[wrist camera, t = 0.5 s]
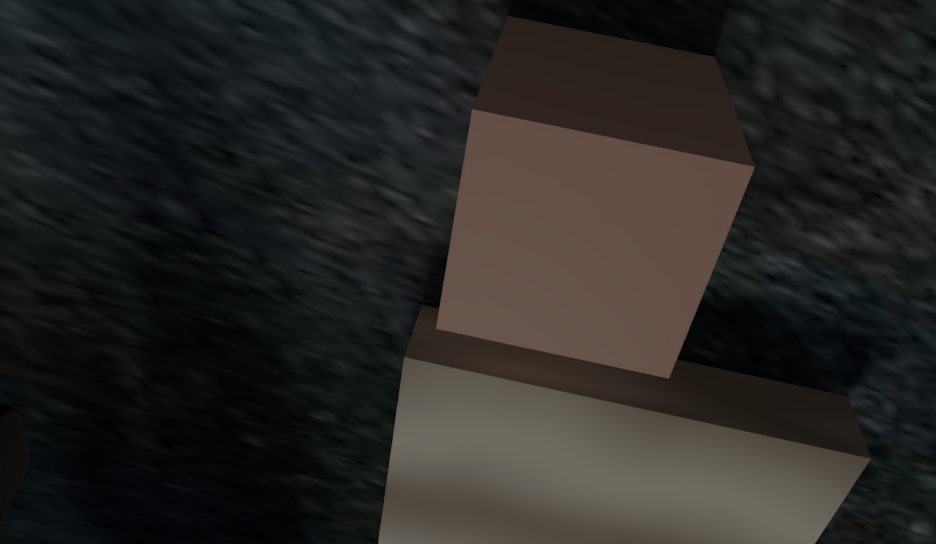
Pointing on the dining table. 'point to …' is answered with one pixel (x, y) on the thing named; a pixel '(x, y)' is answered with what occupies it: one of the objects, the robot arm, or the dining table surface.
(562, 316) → the terracotta block
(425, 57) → the dining table surface
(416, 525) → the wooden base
